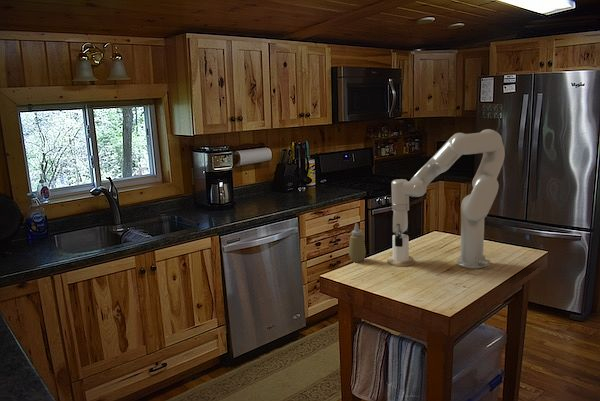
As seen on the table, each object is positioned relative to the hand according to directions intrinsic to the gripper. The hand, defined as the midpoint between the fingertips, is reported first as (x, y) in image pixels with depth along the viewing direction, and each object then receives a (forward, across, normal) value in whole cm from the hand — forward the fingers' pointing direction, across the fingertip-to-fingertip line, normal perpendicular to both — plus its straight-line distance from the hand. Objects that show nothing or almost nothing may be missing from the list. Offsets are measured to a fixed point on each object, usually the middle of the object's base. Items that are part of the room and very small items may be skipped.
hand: (401, 243), depth 220 cm
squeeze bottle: (+9, +4, -20) cm, 22 cm away
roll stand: (+9, 0, -1) cm, 9 cm away
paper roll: (+8, 0, -1) cm, 8 cm away
